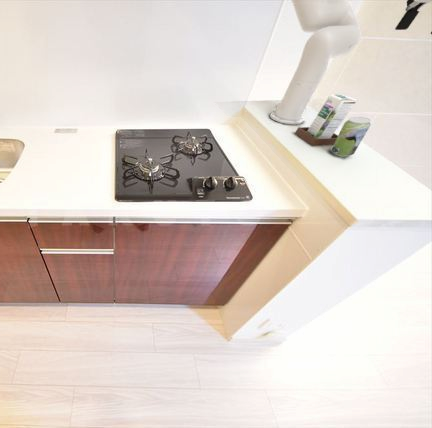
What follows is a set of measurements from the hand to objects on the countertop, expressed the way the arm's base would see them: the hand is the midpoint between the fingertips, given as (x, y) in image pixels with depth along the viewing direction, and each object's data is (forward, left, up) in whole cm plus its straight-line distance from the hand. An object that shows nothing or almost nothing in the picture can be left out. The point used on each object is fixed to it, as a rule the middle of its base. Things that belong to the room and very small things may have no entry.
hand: (417, 31), depth 62 cm
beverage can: (+8, -6, -32) cm, 34 cm away
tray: (-3, -6, -32) cm, 33 cm away
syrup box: (-3, -6, -32) cm, 33 cm away
